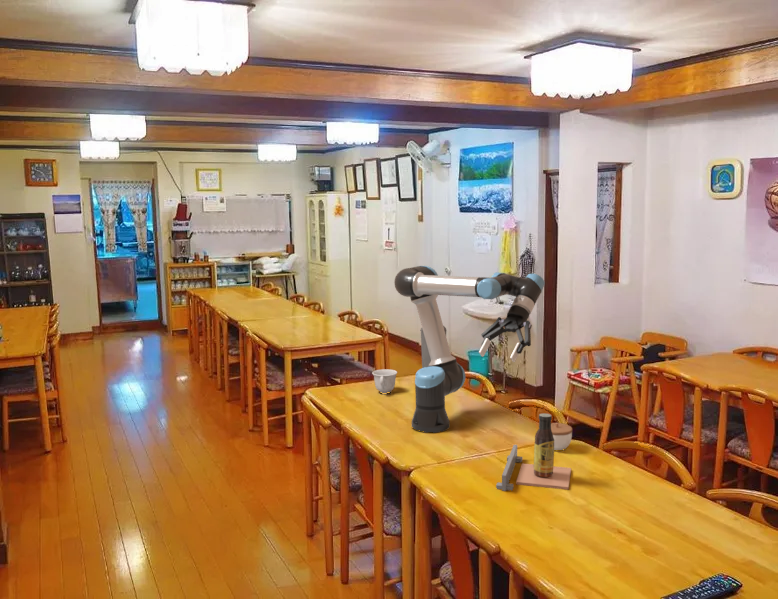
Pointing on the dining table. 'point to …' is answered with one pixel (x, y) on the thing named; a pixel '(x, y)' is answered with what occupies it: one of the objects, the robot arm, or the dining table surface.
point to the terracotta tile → (556, 480)
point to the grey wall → (509, 470)
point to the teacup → (384, 379)
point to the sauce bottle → (544, 447)
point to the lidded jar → (561, 435)
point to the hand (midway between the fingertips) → (496, 357)
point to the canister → (425, 350)
